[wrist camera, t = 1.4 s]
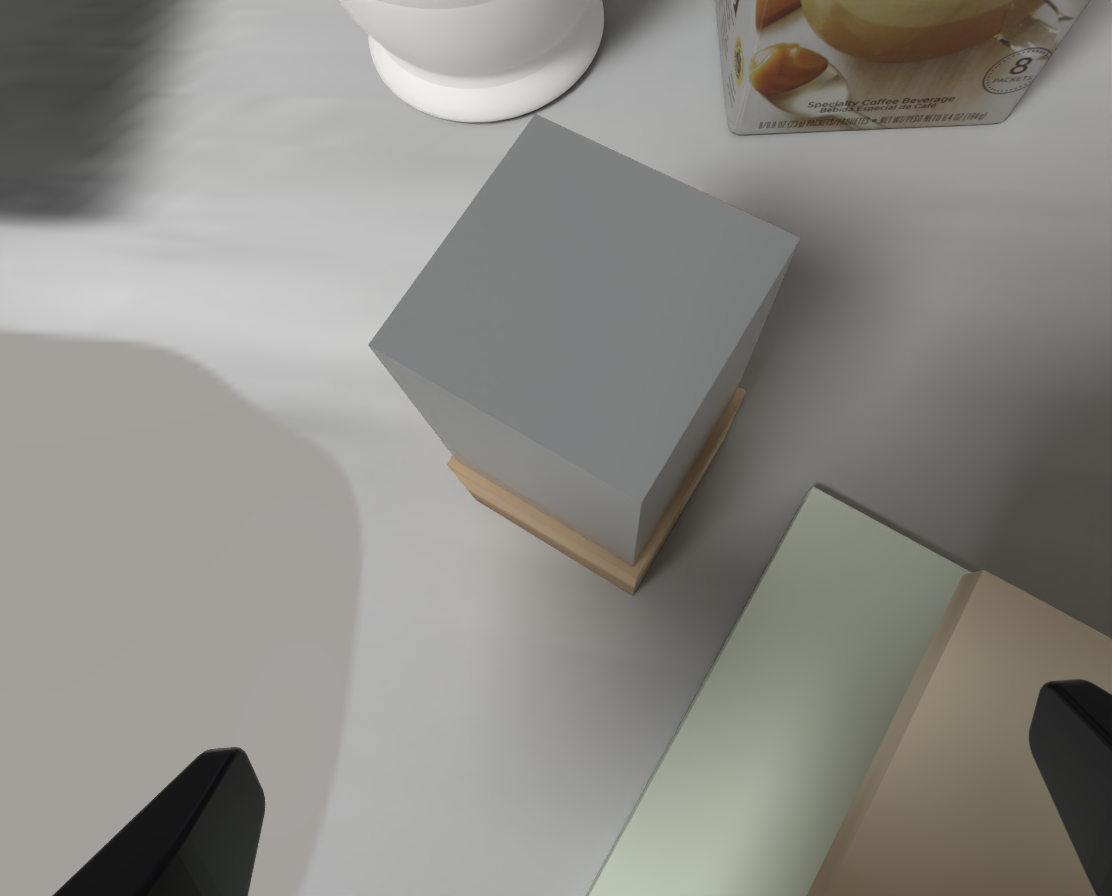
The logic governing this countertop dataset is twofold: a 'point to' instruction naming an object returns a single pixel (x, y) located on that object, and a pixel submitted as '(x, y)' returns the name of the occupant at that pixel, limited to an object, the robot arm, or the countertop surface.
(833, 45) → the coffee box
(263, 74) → the countertop surface
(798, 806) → the stand
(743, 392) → the plinth
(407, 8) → the jar
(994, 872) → the trapdoor
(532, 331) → the basalt block
